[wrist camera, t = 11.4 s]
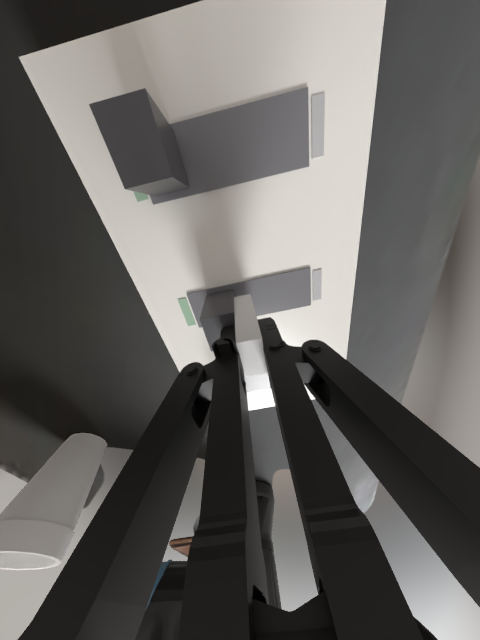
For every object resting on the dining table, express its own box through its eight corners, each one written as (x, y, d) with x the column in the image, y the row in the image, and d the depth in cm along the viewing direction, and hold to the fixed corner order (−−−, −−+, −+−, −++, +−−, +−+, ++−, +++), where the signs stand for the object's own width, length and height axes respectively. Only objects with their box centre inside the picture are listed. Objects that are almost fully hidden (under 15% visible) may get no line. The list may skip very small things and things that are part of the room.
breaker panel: (333, 380, 28) (343, 395, 26) (205, 403, 29) (203, 419, 27) (361, -6, 11) (395, -64, 9) (55, 84, 12) (15, 54, 10)
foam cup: (78, 420, 30) (-13, 546, 19) (127, 443, 34) (76, 558, 23) (46, 441, 32) (-51, 564, 21) (95, 461, 36) (35, 572, 25)
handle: (189, 187, 13) (172, 177, 9) (155, 196, 13) (124, 189, 9) (173, 130, 12) (145, 88, 8) (135, 140, 12) (88, 103, 8)
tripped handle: (239, 317, 18) (242, 345, 15) (215, 322, 19) (211, 351, 15) (232, 289, 17) (233, 312, 13) (206, 295, 17) (199, 319, 13)
